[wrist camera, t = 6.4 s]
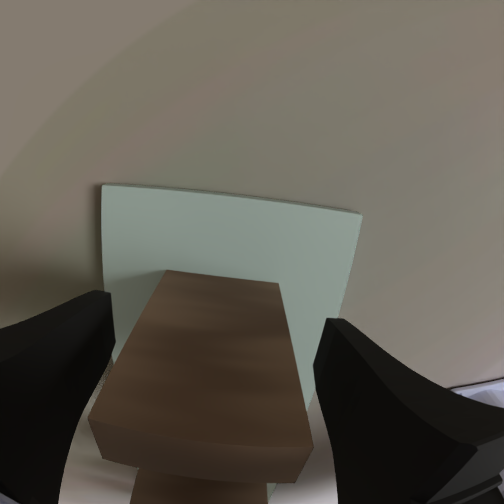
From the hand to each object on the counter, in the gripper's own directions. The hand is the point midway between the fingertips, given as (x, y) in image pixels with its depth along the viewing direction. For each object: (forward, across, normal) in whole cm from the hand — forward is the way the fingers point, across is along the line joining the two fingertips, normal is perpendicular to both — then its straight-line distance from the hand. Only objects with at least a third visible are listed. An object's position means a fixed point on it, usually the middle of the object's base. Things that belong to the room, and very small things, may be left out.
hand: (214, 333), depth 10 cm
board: (+3, 0, +10) cm, 10 cm away
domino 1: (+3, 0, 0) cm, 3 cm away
